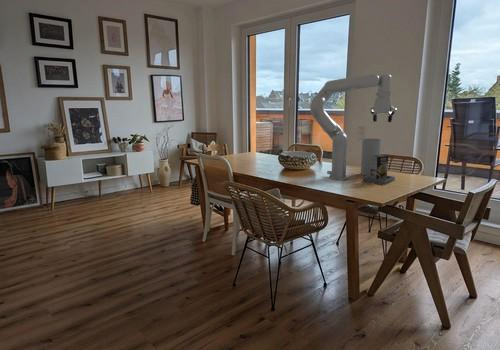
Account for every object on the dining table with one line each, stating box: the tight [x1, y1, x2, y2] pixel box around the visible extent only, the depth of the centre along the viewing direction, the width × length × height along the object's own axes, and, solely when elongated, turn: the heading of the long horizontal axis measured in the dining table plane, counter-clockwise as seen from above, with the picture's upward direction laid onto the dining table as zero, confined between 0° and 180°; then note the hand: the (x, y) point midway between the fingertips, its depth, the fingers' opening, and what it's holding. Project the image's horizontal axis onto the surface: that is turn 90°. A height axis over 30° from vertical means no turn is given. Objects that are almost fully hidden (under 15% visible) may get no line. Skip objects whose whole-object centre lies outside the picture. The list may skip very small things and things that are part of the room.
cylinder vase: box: [360, 138, 382, 177], centre depth 244 cm, size 12×12×25 cm
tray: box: [362, 175, 396, 186], centre depth 228 cm, size 15×16×2 cm
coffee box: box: [370, 154, 389, 180], centre depth 227 cm, size 9×6×16 cm
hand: (382, 121), depth 224 cm, fingers open, 9 cm apart
